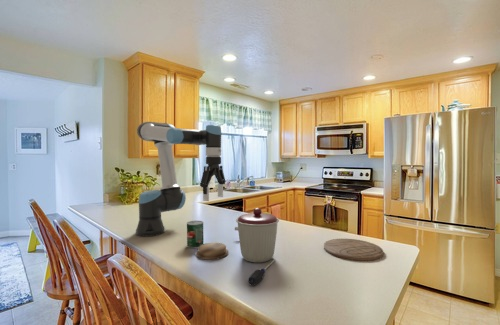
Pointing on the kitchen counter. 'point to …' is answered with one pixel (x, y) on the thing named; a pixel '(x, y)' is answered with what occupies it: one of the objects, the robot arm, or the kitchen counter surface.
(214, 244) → the pedestal
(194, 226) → the canned tomato
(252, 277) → the screwdriver
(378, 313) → the kitchen counter surface
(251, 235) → the canister
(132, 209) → the kitchen counter surface
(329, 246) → the trivet
